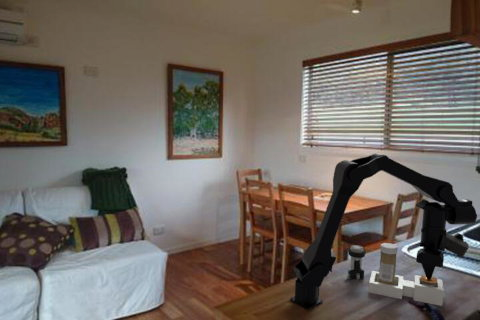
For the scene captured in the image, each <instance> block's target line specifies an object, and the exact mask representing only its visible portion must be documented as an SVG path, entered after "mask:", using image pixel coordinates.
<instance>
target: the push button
mask: <svg viewBox="0 0 480 320" xmlns="http://www.w3.org/2000/svg"><path fill="white" fill-rule="evenodd" d="M347 251H348V255H349V256H350V267H349V269H347V273H346V274H344V276H345V277H343V278H344V279H349V280H351V281H354V280H360V279H361V280H364V278H365V270H364V269H362V268H363V267H362V263H363V260H362V259H363V258H364V257H366V254H367V253H366V252H367V251H366V249H364V247H363V246H361V245H356V244H353V245H351V246H350V247H348V249H347Z"/></svg>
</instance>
